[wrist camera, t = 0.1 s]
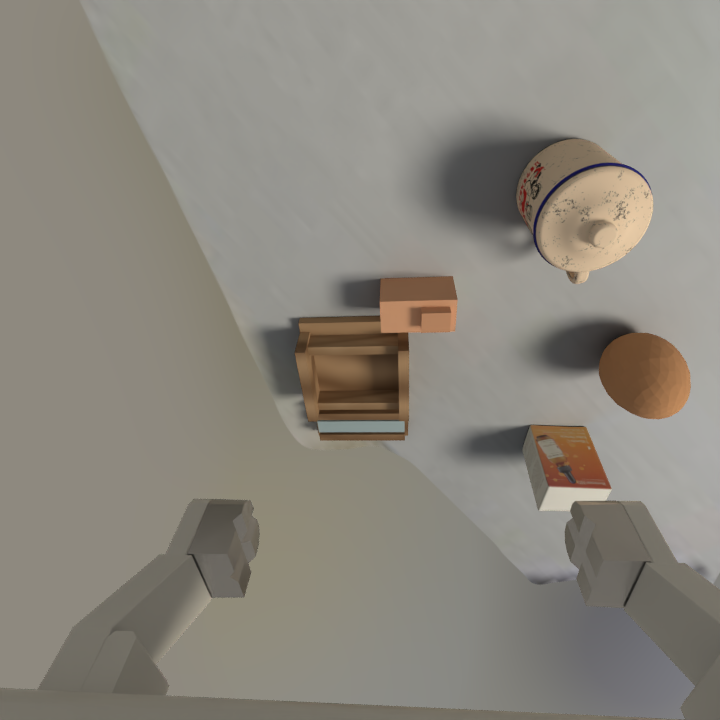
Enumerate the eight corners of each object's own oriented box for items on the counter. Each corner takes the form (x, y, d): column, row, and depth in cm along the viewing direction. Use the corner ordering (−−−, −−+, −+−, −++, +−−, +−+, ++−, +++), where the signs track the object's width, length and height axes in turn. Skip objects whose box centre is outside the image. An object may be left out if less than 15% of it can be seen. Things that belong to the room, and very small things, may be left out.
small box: (586, 425, 64) (614, 489, 56) (575, 451, 68) (600, 514, 60) (528, 423, 65) (548, 486, 56) (520, 449, 68) (537, 512, 60)
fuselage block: (380, 278, 51) (379, 308, 46) (452, 275, 51) (458, 306, 46) (381, 308, 54) (380, 339, 49) (450, 306, 53) (456, 337, 48)
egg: (573, 345, 55) (606, 411, 47) (639, 303, 51) (689, 367, 43) (609, 380, 59) (647, 449, 50) (674, 343, 54) (728, 411, 46)
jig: (300, 317, 55) (292, 343, 51) (407, 315, 54) (408, 341, 50) (320, 429, 68) (315, 457, 64) (407, 429, 67) (408, 457, 63)
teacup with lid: (510, 148, 42) (542, 193, 33) (617, 123, 40) (682, 162, 31) (515, 264, 49) (543, 326, 40) (606, 246, 47) (656, 307, 38)
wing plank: (318, 413, 64) (317, 421, 63) (404, 413, 63) (404, 421, 62) (320, 424, 65) (319, 432, 64) (404, 424, 64) (404, 432, 63)
